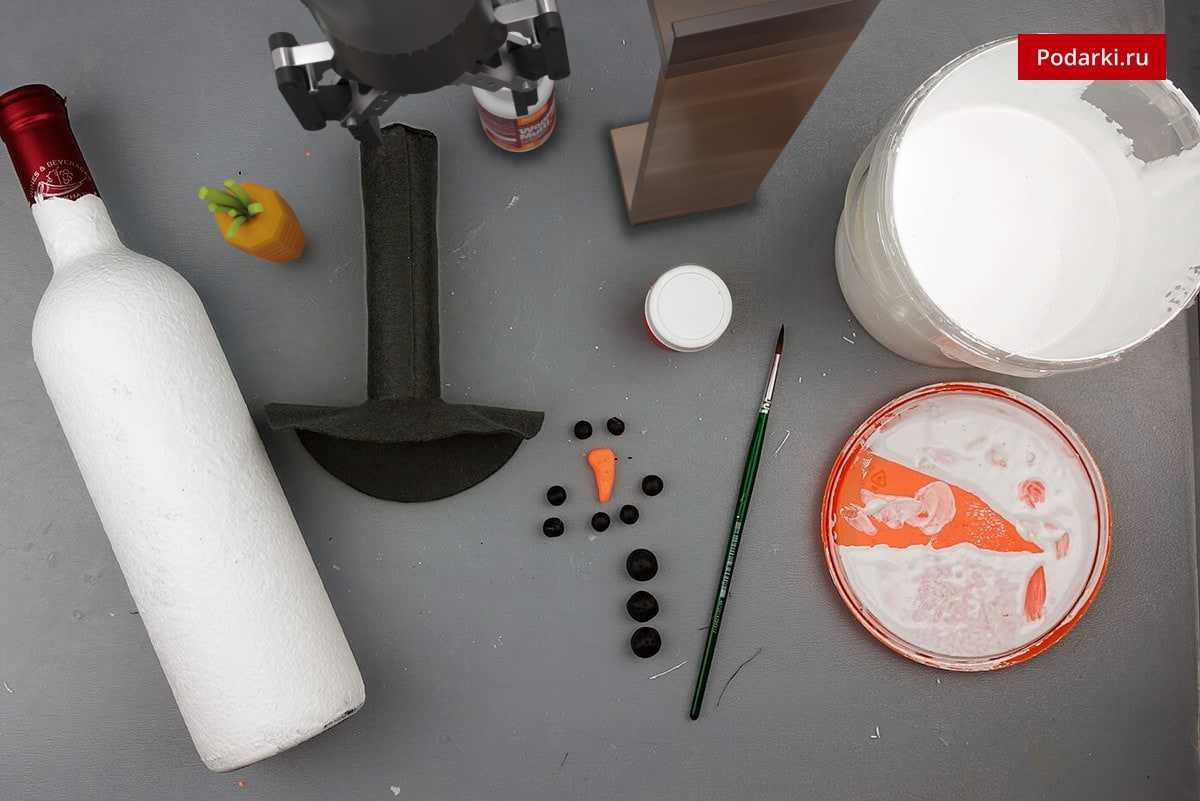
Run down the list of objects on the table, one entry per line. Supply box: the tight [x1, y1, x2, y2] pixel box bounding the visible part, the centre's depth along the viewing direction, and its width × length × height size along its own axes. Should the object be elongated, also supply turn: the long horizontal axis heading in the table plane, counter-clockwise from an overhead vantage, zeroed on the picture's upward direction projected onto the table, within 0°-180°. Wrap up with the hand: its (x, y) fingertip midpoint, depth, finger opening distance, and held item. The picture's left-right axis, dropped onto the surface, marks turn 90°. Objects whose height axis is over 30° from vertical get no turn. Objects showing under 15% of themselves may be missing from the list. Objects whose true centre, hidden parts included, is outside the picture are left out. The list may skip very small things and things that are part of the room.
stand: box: [609, 40, 856, 228], centre depth 60 cm, size 8×10×28 cm
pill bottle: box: [471, 32, 557, 153], centre depth 69 cm, size 6×6×11 cm
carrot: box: [197, 178, 308, 264], centre depth 65 cm, size 5×5×15 cm
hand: (446, 115), depth 52 cm, fingers open, 8 cm apart
